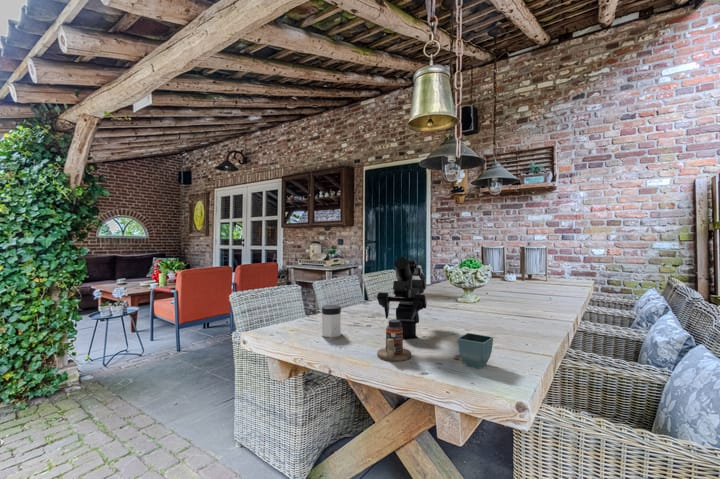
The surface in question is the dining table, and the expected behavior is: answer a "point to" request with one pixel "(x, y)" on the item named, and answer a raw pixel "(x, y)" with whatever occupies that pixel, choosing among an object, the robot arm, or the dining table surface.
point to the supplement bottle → (395, 335)
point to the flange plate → (397, 357)
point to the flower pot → (475, 349)
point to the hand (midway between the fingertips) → (398, 318)
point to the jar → (331, 321)
